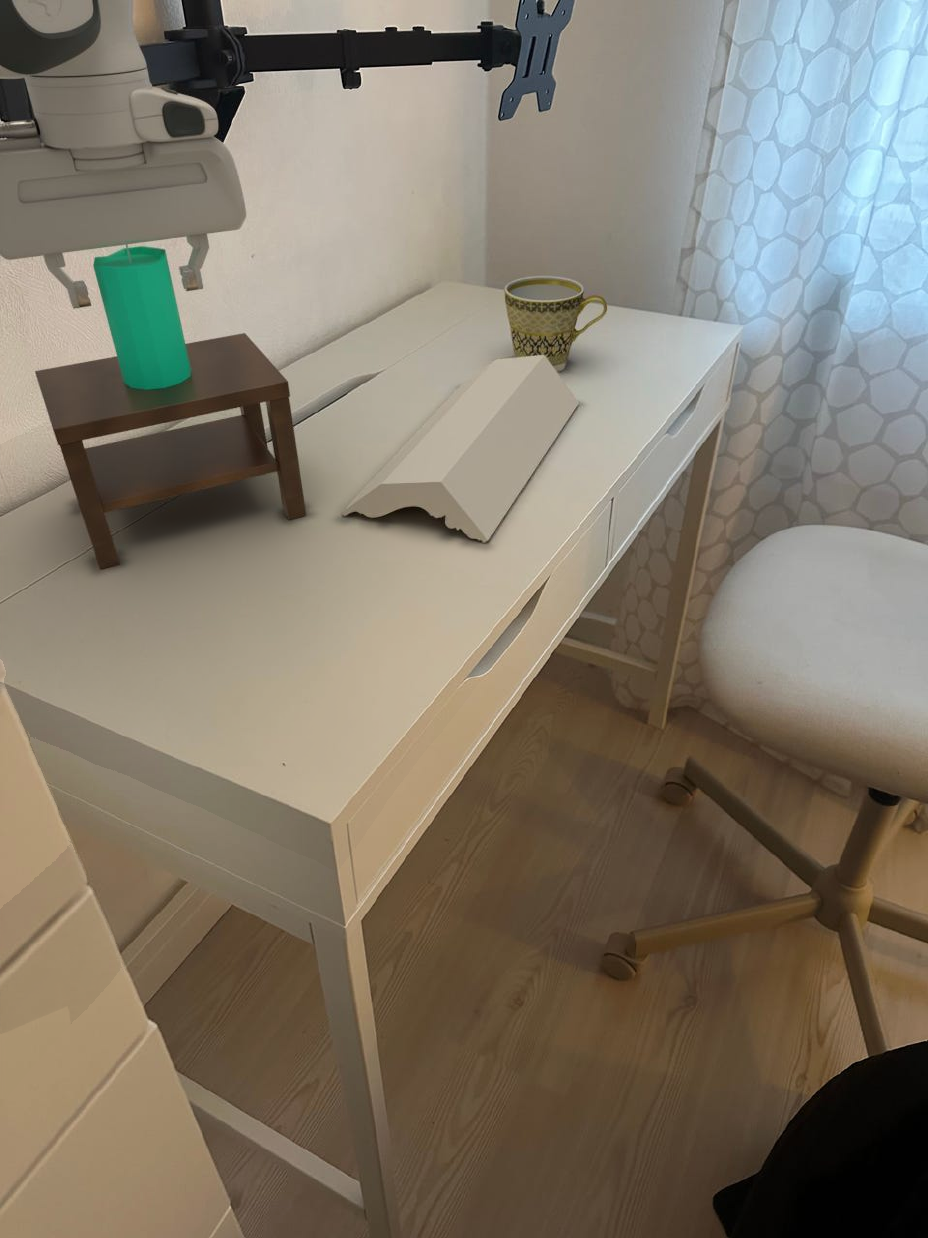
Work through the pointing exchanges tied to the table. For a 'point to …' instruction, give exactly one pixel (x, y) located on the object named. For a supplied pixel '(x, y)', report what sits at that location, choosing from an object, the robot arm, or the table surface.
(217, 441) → the stand
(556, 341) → the ceramic cup
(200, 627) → the table surface
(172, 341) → the candle
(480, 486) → the molding piece
